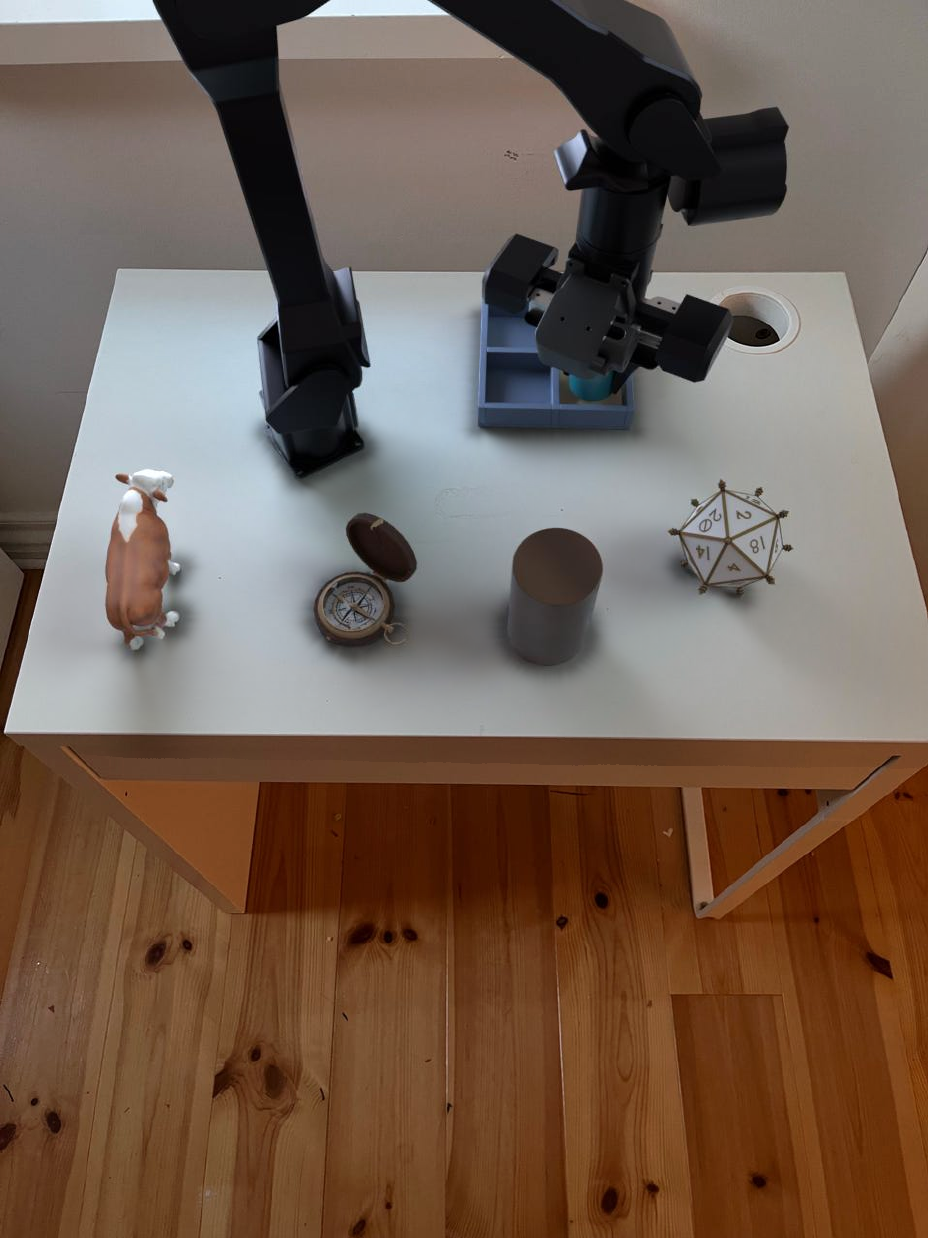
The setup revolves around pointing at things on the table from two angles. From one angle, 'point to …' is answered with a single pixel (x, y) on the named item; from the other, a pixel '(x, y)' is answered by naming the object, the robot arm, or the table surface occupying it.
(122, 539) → the bull figurine
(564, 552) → the stand
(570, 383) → the cylinder
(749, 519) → the game die
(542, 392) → the grid
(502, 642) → the table surface
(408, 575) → the compass
